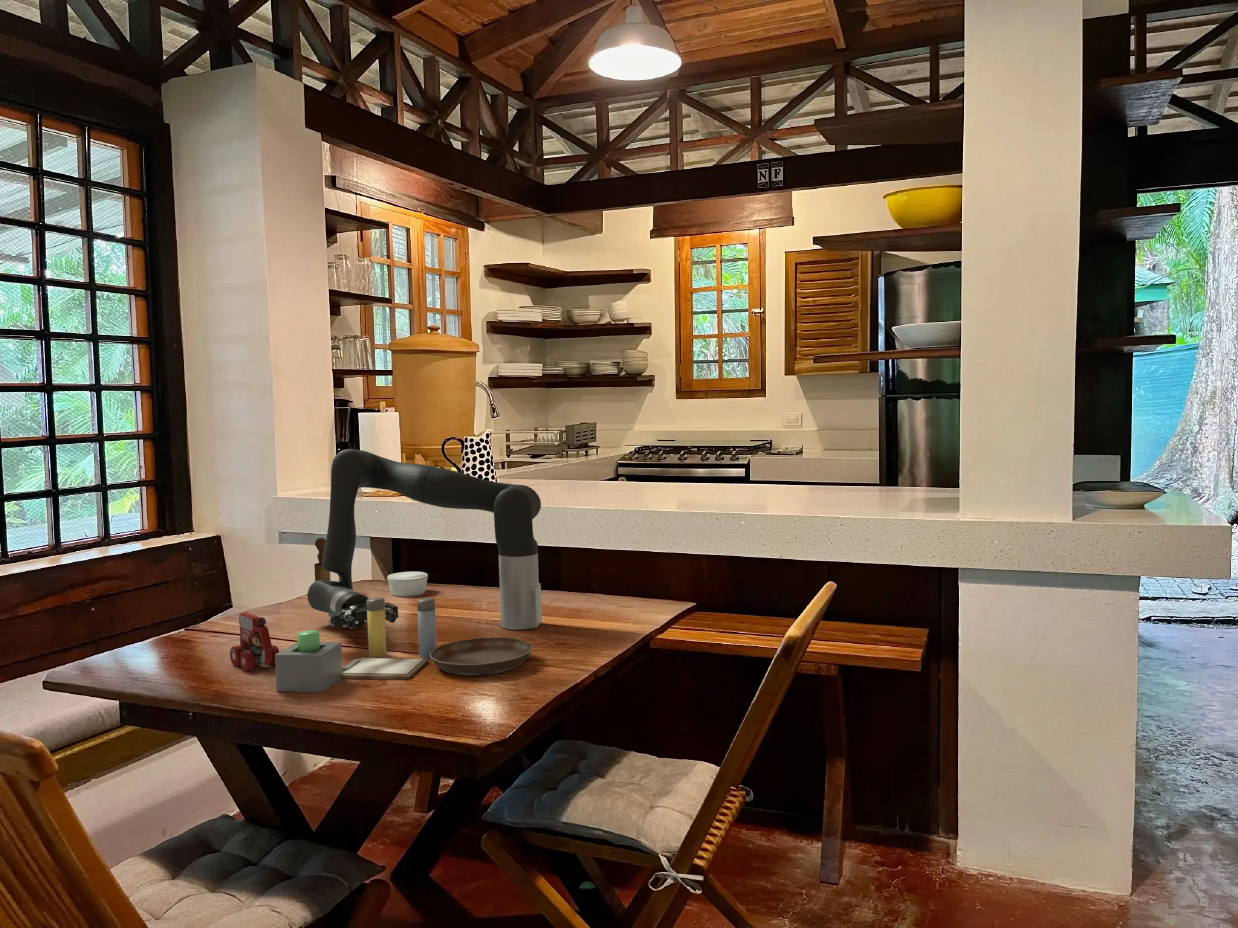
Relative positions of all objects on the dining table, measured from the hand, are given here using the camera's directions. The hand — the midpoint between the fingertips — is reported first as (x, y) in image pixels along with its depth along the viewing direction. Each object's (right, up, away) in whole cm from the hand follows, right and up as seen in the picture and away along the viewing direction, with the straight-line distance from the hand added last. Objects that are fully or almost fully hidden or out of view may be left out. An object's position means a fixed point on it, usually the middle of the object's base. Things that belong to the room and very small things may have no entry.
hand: (373, 621), depth 193 cm
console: (-7, -9, -20) cm, 23 cm away
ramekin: (-7, -3, +61) cm, 62 cm away
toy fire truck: (-23, -8, -6) cm, 25 cm away
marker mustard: (+1, -7, -1) cm, 7 cm away
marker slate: (+12, -7, -2) cm, 14 cm away
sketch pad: (+5, -8, -11) cm, 15 cm away
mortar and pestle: (-27, -4, +48) cm, 55 cm away
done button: (-7, -3, -21) cm, 22 cm away
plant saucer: (+24, -8, -9) cm, 27 cm away
